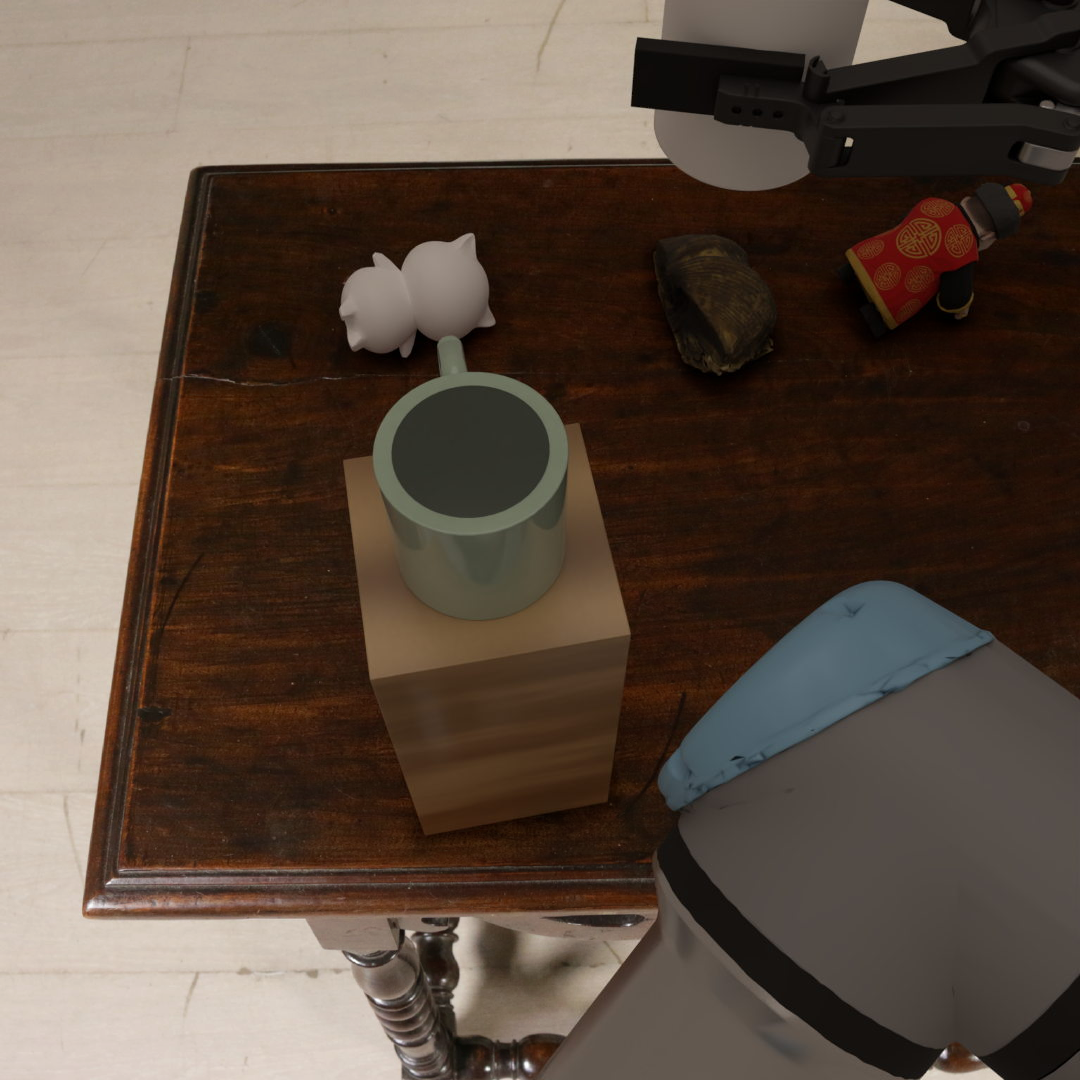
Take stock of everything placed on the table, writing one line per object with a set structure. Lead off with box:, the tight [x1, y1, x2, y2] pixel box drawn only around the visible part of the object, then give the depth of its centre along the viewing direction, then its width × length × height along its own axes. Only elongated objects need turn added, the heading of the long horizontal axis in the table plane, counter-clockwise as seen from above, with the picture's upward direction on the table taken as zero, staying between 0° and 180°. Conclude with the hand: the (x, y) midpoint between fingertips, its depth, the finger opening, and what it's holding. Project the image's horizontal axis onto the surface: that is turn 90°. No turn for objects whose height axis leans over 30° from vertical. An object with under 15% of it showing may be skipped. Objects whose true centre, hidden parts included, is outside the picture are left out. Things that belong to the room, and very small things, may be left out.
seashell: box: [652, 233, 778, 376], centre depth 93 cm, size 16×9×7 cm, turn 14°
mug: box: [372, 335, 569, 620], centre depth 53 cm, size 12×8×8 cm
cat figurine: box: [338, 232, 497, 359], centre depth 93 cm, size 9×11×12 cm
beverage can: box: [653, 0, 870, 192], centre depth 48 cm, size 8×8×12 cm
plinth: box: [342, 422, 632, 837], centre depth 67 cm, size 12×12×26 cm
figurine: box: [835, 181, 1033, 339], centre depth 93 cm, size 10×10×15 cm
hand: (647, 1), depth 48 cm, fingers closed on beverage can, 8 cm apart
